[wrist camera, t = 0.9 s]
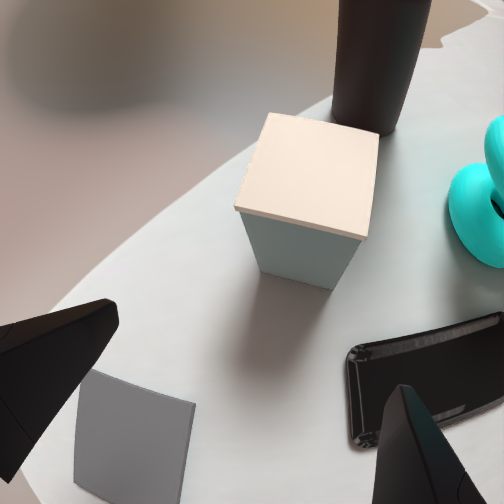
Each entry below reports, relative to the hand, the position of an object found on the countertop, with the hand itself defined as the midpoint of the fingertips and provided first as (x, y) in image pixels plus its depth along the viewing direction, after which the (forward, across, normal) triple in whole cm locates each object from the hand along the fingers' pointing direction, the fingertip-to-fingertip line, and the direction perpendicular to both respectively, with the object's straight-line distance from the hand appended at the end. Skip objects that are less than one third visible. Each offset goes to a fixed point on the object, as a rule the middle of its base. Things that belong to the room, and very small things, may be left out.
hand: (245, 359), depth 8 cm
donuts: (+20, -16, -2) cm, 26 cm away
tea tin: (+15, 0, +2) cm, 16 cm away
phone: (+11, -13, +8) cm, 19 cm away
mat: (+2, +8, +17) cm, 19 cm away
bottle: (+26, -3, -9) cm, 27 cm away
